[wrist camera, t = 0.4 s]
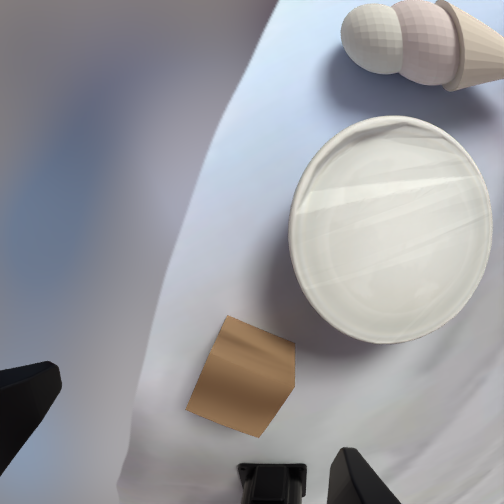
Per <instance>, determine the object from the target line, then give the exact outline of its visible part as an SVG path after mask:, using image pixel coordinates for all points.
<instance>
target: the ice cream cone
mask: <svg viewBox="0 0 504 504" xmlns="http://www.w3.org/2000/svg"><path fill="white" fill-rule="evenodd" d="M341 41H342V45H343V47H344V49H345V51H346V53H347V54H348V56H349V57H350V58H351V59H352V60H353V61H354V62H355V63H356V64H357V65H359V66H360V67H362V68H363V69H365V70H367V71H370V72H373V73H377V74H394V73H397V72H398V73H399V74H401V75H402V76H404V77H405V78H407V79H409V80H411V81H413V82H416V83H419V84H423V85H442V86H443V88H444V89H445V90H446V91H449V92H452V91H456V90H460V89H463V88H467V87H471V86H475V85H479V84H483V83H487V82H491V81H495V80H500V79H504V37H503V36H501V35H500V34H498V33H497V32H496V31H494V30H493V29H491V28H490V27H488V26H487V25H485V24H484V23H482V22H481V21H479V20H478V19H476V18H474V17H473V16H471V15H469V14H468V13H466V12H464V11H463V10H461V9H459V8H457V7H456V6H454V5H452V4H450V3H448V2H446V1H445V0H438V1H436V3H435V4H433V3H431V2H428V1H423V0H404V1H400V2H398V3H396V4H394V5H392V6H391V7H389V6H386V5H382V4H365V5H361V6H359V7H357V8H355V9H353V10H352V11H351V12H349V13H348V15H347V16H346V17H345V19H344V21H343V23H342V26H341Z"/></svg>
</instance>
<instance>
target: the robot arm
mask: <svg viewBox="0 0 504 504" xmlns="http://www.w3.org/2000/svg"><path fill="white" fill-rule="evenodd" d="M61 388H62V381H61V377H60V371H59V367H58V366H57V365H55V364H54V363H52V362H50V361H44V362H40V363H35V364H31V365H26V366H21V367H16V368H11V369H5V370H0V476H1V475H2V473H3V472H4V471H5V469H6V468H7V466H8V465H9V464H10V462H11V461H12V459H13V458H14V457H15V456H16V454H17V453H18V452H19V450H20V449H21V448H22V446H23V445H24V444H25V442H26V441H27V440H28V438H29V437H30V436H31V434H32V433H33V432H34V430H35V429H36V428H37V427H38V425H39V424H40V423H41V421H42V420H43V418H44V417H45V415H46V413H47V412H48V410H49V409H50V407H51V405H52V404H53V402H54V400H55V399H56V397H57V396H58V394H59V393H60V391H61ZM238 471H239V475H240V479H241V483H242V487H243V495H242V500H241V504H302V497H304V496H305V495H306V475H307V466H306V465H305V464H244V463H242V464H239V466H238ZM327 504H401V503H400V501H399V500H398V499H397V498H396V497H395V496H394V494H393V493H392V492H391V491H390V490H389V488H388V487H387V486H386V485H385V484H384V482H383V481H382V480H381V479H380V478H379V476H378V475H377V474H376V473H375V471H374V470H373V469H372V468H371V467H370V465H369V464H368V463H367V462H366V460H365V459H364V458H363V457H362V455H361V454H360V453H359V452H358V450H357V449H355V448H348V447H343V448H341V449H340V450H339V452H338V454H337V456H336V457H335V459H334V461H333V462H332V464H331V467H330V476H329V488H328V498H327Z"/></svg>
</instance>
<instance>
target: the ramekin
mask: <svg viewBox="0 0 504 504" xmlns="http://www.w3.org/2000/svg"><path fill="white" fill-rule="evenodd" d="M492 223H493V222H492V211H491V204H490V199H489V194H488V191H487V187H486V184H485V182H484V179H483V177H482V175H481V173H480V171H479V169H478V167H477V165H476V164H475V162H474V161H473V159H472V158H471V156H470V155H469V154H468V153H467V151H466V150H465V149H464V148H463V147H462V146H461V145H460V144H459V143H458V142H457V141H456V140H455V139H454V138H453V137H452V136H450V135H449V134H448V133H446V132H445V131H443V130H442V129H440V128H438V127H436V126H434V125H432V124H430V123H428V122H425V121H422V120H419V119H416V118H412V117H407V116H380V117H374V118H370V119H366V120H363V121H360V122H358V123H355V124H353V125H351V126H349V127H347V128H345V129H344V130H342V131H340V132H339V133H338V134H336V135H335V136H334V137H332V138H331V139H330V140H329V141H328V142H327V143H325V144H324V145H323V146H322V148H321V149H320V150H319V151H318V152H317V153H316V154H315V156H314V157H313V158H312V160H311V161H310V162H309V164H308V165H307V167H306V169H305V170H304V172H303V174H302V176H301V178H300V180H299V183H298V185H297V188H296V190H295V193H294V196H293V200H292V204H291V209H290V215H289V224H288V243H289V251H290V257H291V261H292V265H293V269H294V272H295V275H296V278H297V280H298V283H299V285H300V287H301V289H302V291H303V293H304V295H305V296H306V298H307V299H308V301H309V303H310V304H311V305H312V307H313V308H314V309H315V310H316V311H317V313H318V314H319V315H320V316H321V317H322V318H323V319H324V320H325V321H326V322H328V323H329V324H330V325H331V326H332V327H334V328H335V329H337V330H338V331H340V332H342V333H343V334H345V335H348V336H350V337H352V338H354V339H357V340H360V341H365V342H369V343H373V344H397V343H403V342H407V341H412V340H415V339H418V338H421V337H423V336H425V335H427V334H430V333H432V332H433V331H435V330H437V329H439V328H441V327H442V326H443V325H445V324H446V323H447V322H448V321H449V320H451V319H453V318H454V317H455V316H456V315H457V314H458V313H459V312H460V310H461V309H462V308H463V307H464V306H465V305H466V303H467V302H468V300H469V299H470V297H471V296H472V295H473V293H474V291H475V290H476V288H477V286H478V284H479V282H480V280H481V278H482V276H483V273H484V271H485V268H486V265H487V261H488V258H489V254H490V249H491V244H492V229H493V226H492Z"/></svg>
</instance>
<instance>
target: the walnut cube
mask: <svg viewBox="0 0 504 504" xmlns="http://www.w3.org/2000/svg"><path fill="white" fill-rule="evenodd" d="M294 387H295V343H293V342H291V341H288V340H286V339H283V338H281V337H278V336H276V335H273V334H271V333H268V332H266V331H264V330H261V329H259V328H256V327H254V326H252V325H249V324H247V323H245V322H242V321H240V320H238V319H235V318H233V317H231V316H228V315H227V317H226V320H225V322H224V324H223V326H222V328H221V330H220V332H219V334H218V336H217V339H216V341H215V343H214V345H213V347H212V349H211V351H210V353H209V356H208V358H207V360H206V363H205V365H204V367H203V370H202V372H201V374H200V377H199V379H198V381H197V384H196V386H195V388H194V391H193V393H192V395H191V398H190V400H189V402H188V405H187V407H186V409H185V410H187V411H190V412H192V413H194V414H197V415H199V416H201V417H204V418H206V419H209V420H211V421H213V422H216V423H219V424H221V425H224V426H226V427H229V428H232V429H234V430H237V431H240V432H243V433H246V434H249V435H252V436H254V437H258V438H259V437H260V436H261V435H262V433H263V432H264V430H265V429H266V428H267V426H268V425H269V424H270V422H271V421H272V419H273V418H274V416H275V415H276V414H277V412H278V411H279V409H280V408H281V406H282V405H283V404H284V402H285V401H286V399H287V398H288V396H289V395H290V393H291V392H292V390H293V389H294Z"/></svg>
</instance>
